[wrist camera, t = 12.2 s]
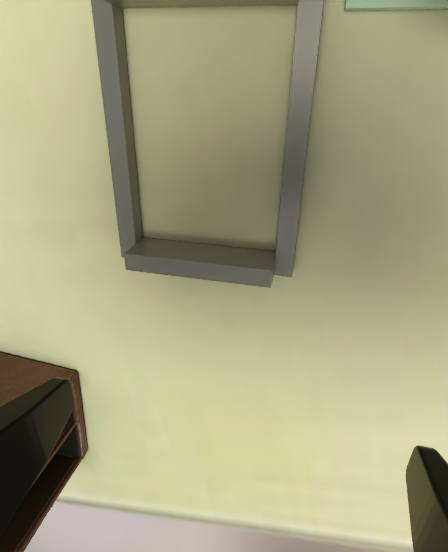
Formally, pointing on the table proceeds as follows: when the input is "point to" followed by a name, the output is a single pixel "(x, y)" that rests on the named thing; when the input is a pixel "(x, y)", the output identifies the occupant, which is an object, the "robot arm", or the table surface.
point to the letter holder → (63, 459)
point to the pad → (395, 5)
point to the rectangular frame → (118, 117)
